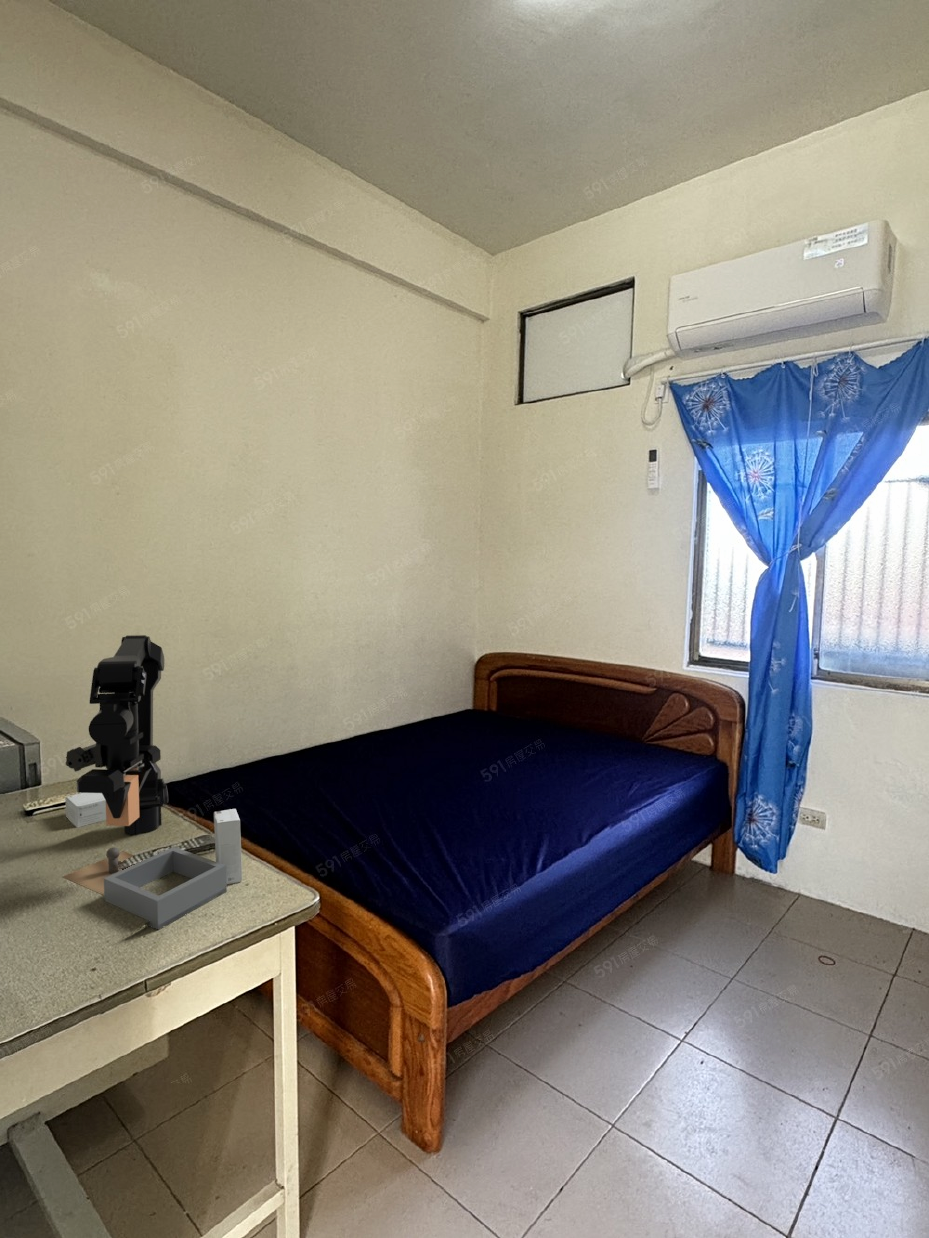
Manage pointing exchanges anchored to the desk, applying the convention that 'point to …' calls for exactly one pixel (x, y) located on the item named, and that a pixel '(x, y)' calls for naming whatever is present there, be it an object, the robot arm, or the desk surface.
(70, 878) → the stud base
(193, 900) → the bin
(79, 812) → the small box
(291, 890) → the desk surface
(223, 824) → the skincare box
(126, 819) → the tan wooden brick
